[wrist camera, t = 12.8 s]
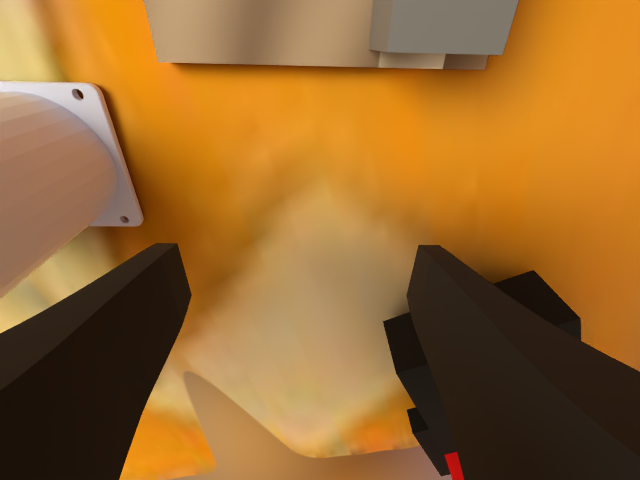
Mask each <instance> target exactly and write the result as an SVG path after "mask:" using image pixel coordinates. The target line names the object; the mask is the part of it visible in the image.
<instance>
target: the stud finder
mask: <svg viewBox="0 0 640 480" xmlns="http://www.w3.org/2000/svg"><path fill="white" fill-rule="evenodd" d="M518 1H519V0H373V5H372V16H371V27H370V38H369V50H376V51H382V52H399V53H438V54H477V55H503V52H504V49H505V45H506V42H507V38H508V35H509V32H510V28H511V25H512V22H513V18H514V15H515V12H516V8H517V5H518Z"/></svg>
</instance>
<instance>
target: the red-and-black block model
mask: <svg viewBox="0 0 640 480" xmlns="http://www.w3.org/2000/svg"><path fill="white" fill-rule="evenodd" d="M493 285H494V286H495V287H497V288H498V289H500V290H501V291H502V292H504V293H505V294H507V295H508V296H510V297H511V298H512V299H514V300H515V301H517V302H518V303H520V304H522V305H523V306H525V307H526V308H528V309H529V310H531V311H532V312H534V313H535V314H537V315H538V316H540V317H541V318H543V319H545V320H546V321H548V322H550V323H551V324H553V325H554V326H556V327H558V328H560V329H561V330H563V331H565V332H567V333H568V334H570V335H572V336H573V337H575V338H577V339H579V340H580V341H581V321H580V318H579V317H578V316H577V314H576V313H575V312H574V311H573V310H572V309H571V308H570V307H569V306H568V305H567V304H566V303H565V302H564V301H563V300H562V299H561V298H560V297H559V296H558V295H557V294H556V293H555V292H554V291H553V290H552V289H551V288H550V287H549V286H548V285H547V284H546V283H545V282H544V280H543V279H542V278H541V277H540V276H539V275H538V274H537V273H536V272H535V271H534V270H532V271H529V272H527V273H524V274H521V275H518V276H515V277H512V278H509V279H506V280H503V281H500V282H497V283H494V284H493ZM383 323H384V327H385V331H386V335H387V339H388V343H389V347H390V351H391V355H392V359H393V362H394V366H395V370H396V374H397V375H398V377H399V379H400V380H401V382H402V384H403V386H404V387H405V389H406V391H407V392H408V394H409V396H410V397H411V399H412V401H413V402H414V404H415V406H416V407H415V408H412V409H408V410H407V413H408V417H409V421H410V424H411V428H412V432H413V434H414V436H415V437H416V439H417V440H418V442H419V443H420V445H421V446H422V448H423V449H424V451H425V452H426V454H427V455H428V457H429V458H430V460H431V461H432V463H433V465H434V466H435V467H436V469H437V471H438V472H439V474H440V475H441V476H444V475H449V474H451V476H452V479H453V480H464V477H463V473H462V469H461V466H460V462H459V458H458V454H457V450H456V446H455V443H454V439H453V435H452V432H451V428H450V425H449V421H448V417H447V414H446V410H445V408H444V405H443V402H442V399H441V396H440V393H439V390H438V388H437V385H436V383H435V380H434V377H433V375H432V372H431V370H430V367H429V364H428V362H427V359H426V357H425V354H424V352H423V349H422V346H421V344H420V341H419V338H418V336H417V333H416V330H415V328H414V325H413V321H412V317H411V313H410V312H409V313H406V314H403V315H400V316H397V317H395V318H392V319H389V320H386V321H383Z"/></svg>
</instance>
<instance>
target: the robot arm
mask: <svg viewBox="0 0 640 480" xmlns="http://www.w3.org/2000/svg"><path fill="white" fill-rule="evenodd" d="M77 89H79V90H80V91H81V92H82V93H83V96H84V98H83V99H82V98H81V97H79V95H78V94H77ZM123 216H125V217H127V218H128V219H129V220H126V219H124V217H123ZM143 220H144V217H143V214H142V211H141V208H140V205H139V202H138V199H137V196H136V193H135V190H134V187H133V184H132V181H131V178H130V175H129V172H128V169H127V166H126V163H125V160H124V157H123V154H122V151H121V148H120V145H119V142H118V139H117V136H116V133H115V130H114V127H113V123H112V120H111V117H110V114H109V111H108V108H107V105H106V102H105V99H104V96H103V94H102V92H101V90H100V89H99V88H98V87H97V86H96V85H94V84H93V83H84V82H38V81H0V299H1V298H2V297H4V296H5V295H6V294H7V293H8V292H10V291H11V290H12V289H13V288H14V287H16V286H17V285H18V284H19V283H20V282H22V281H23V280H24V279H25V278H26V277H28V276H29V275H30V274H31V273H32V272H34V271H35V270H36V269H37V268H38V267H40V266H41V265H42V264H43V263H44V262H46V261H47V260H48V259H49V258H50V257H52V256H53V255H54V254H55V253H56V252H58V251H59V250H60V249H61V248H62V247H64V246H65V245H66V244H67V243H68V242H70V241H71V240H72V239H73V238H74V237H76V236H77V235H78V234H79V233H80V232H82V231H83V230H84V229H85V228H86V227H88V226H139V225H141V223H142V222H143ZM190 299H191V291H190V288H189V284H188V280H187V277H186V273H185V270H184V266H183V262H182V259H181V255H180V252H179V248H178V244H170V243H156V244H154V245H152V246H150V247H149V248H147V249H145V250H143V251H142V252H140V253H138V254H137V255H135V256H134V257H132V258H130V259H129V260H127V261H126V262H124V263H122V264H121V265H119V266H118V267H116V268H114V269H113V270H111V271H110V272H108V273H106V274H105V275H103V276H102V277H100V278H98V279H97V280H95V281H94V282H92V283H90V284H89V285H87V286H86V287H84V288H82V289H80V290H79V291H77V292H75V293H73V294H72V295H70V296H68V297H67V298H65V299H63V300H61V301H60V302H58V303H56V304H55V305H53V306H51V307H49V308H48V309H46V310H44V311H43V312H41V313H39V314H37V315H35V316H33V317H32V318H30V319H28V320H26V321H24V322H22V323H20V324H18V325H16V326H14V327H12V328H10V329H8V330H6V331H4V332H2V333H0V480H119V478H120V475H121V472H122V469H123V466H124V463H125V460H126V457H127V454H128V451H129V448H130V446H131V443H132V440H133V437H134V434H135V432H136V429H137V426H138V423H139V420H140V417H141V415H142V412H143V410H144V408H145V405H146V403H147V400H148V398H149V396H150V394H151V392H152V389H153V387H154V385H155V383H156V381H157V379H158V377H159V375H160V372H161V370H162V368H163V366H164V364H165V362H166V360H167V358H168V355H169V353H170V351H171V349H172V347H173V345H174V343H175V340H176V338H177V336H178V334H179V332H180V329H181V327H182V325H183V322H184V319H185V316H186V313H187V309H188V306H189V302H190ZM407 299H408V304H409V308H410V313H411V317H412V321H413V325H414V328H415V330H416V333H417V336H418V338H419V341H420V344H421V346H422V349H423V352H424V354H425V357H426V359H427V362H428V364H429V367H430V370H431V372H432V375H433V377H434V380H435V383H436V385H437V388H438V390H439V393H440V396H441V399H442V402H443V405H444V408H445V410H446V414H447V417H448V421H449V425H450V428H451V432H452V435H453V439H454V443H455V446H456V450H457V454H458V458H459V462H460V466H461V469H462V473H463V477H464V480H640V372H639V371H637V370H635V369H633V368H631V367H629V366H628V365H626V364H624V363H622V362H620V361H618V360H616V359H614V358H612V357H610V356H608V355H606V354H604V353H602V352H600V351H598V350H597V349H595V348H593V347H591V346H589V345H587V344H586V343H584V342H582V341H580V340H579V339H577V338H575V337H573V336H572V335H570V334H568V333H567V332H565V331H563V330H561V329H560V328H558V327H556V326H554V325H553V324H551V323H550V322H548V321H546V320H545V319H543V318H541V317H540V316H538V315H537V314H535V313H534V312H532V311H531V310H529V309H528V308H526V307H525V306H523V305H522V304H520V303H518V302H517V301H515V300H514V299H512V298H511V297H510V296H508V295H507V294H505V293H504V292H502V291H501V290H500V289H498V288H497V287H495V286H494V285H493V284H491V283H490V282H488V281H487V280H486V279H484V278H483V277H482V276H480V275H479V274H478V273H476V272H475V271H474V270H472V269H471V268H470V267H468V266H467V265H466V264H464V263H463V262H462V261H460V260H459V259H458V258H456V257H455V256H454V255H452V254H451V253H449V252H448V251H447V250H445V249H444V248H442V247H441V246H439V245H419V246H418V250H417V254H416V258H415V263H414V267H413V271H412V275H411V279H410V284H409V288H408V292H407Z"/></svg>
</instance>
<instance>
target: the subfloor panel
mask: <svg viewBox="0 0 640 480" xmlns="http://www.w3.org/2000/svg"><path fill="white" fill-rule="evenodd" d="M144 3H145V7H146V12H147V16H148V20H149V25H150V29H151V34H152V38H153V42H154V47H155V51H156V55H157V60H158V62H171V63H213V64H254V65H296V66H338V67H379V68H421V69H462V70H485V68H486V64H487V60H488V57H489V55H477V54H438V53H399V52H382V51H376V50H369V38H370V27H371V16H372V5H373V0H144Z"/></svg>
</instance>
